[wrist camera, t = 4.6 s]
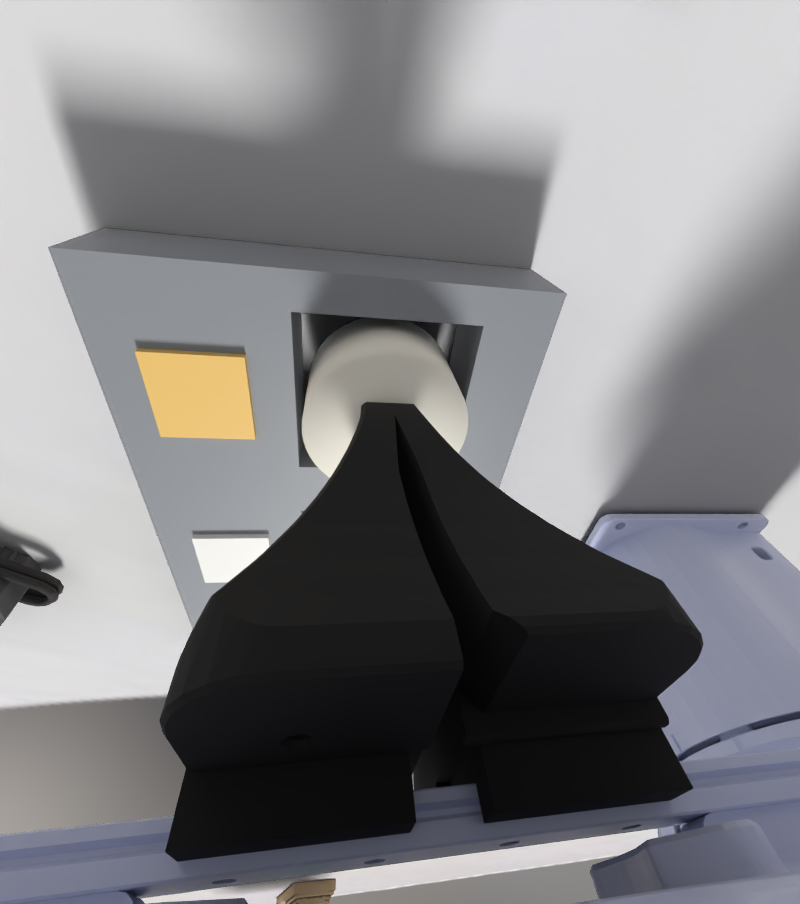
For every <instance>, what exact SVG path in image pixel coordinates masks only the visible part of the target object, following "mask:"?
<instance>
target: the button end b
mask: <svg viewBox="0 0 800 904" xmlns="http://www.w3.org/2000/svg"><path fill="white" fill-rule="evenodd" d="M365 402H380V403H404V404H414V405H415V406H416V407H417V408H418V409H419V411H420V412H421V413H422V414H423V415H424V416H425V418H426V419H427V420H428V421H429V422H430V423H431V425H432V426H433V427H434V428H435V429H436V430H437V431H438V433H439V434H440V435H441V436H442V437H443V438H444V439H445V440H446V441H447V442H448V443H449V444H450V445H451V446H452V448H453V449H454V450H455V451H456V452H457V453H459V452H460V450H461V448H462V446H463V444H464V441H465V438H466V435H467V429H468V411H467V406H466V403H465V399H464V397H463V395H462V393H461V391H460V388H459V386H458V384H457V382H456V380H455V378H454V375H453V373H452V371H451V369H450V367H449V365H448V362H447V360H446V358H445V356H444V354H443V352H442V350H441V348H440V347H439V345H438V344H437V342H436V341H435V340H434V339H433V338H432V337H431V335H430V334H428V333H427V332H426V331H425V330H423V329H422V328H420V327H419V326H417V325H415V324H413V323H411V322H409V321H406V320H395V319H381V318H368V317H366V318H362V319H358V320H355V321H352V322H350V323H347V324H346V325H344V326H342V327H340V328H339V329H337V330H336V331H335V332H333V333H332V334H331V335H330V336H329V337H328V338H327V339H326V340H325V341H324V342H323V343H322V345H321V346H320V347H319V349H318V351H317V352H316V354H315V356H314V359H313V361H312V364H311V368H310V373H309V380H308V386H307V392H306V398H305V405H304V411H303V417H302V436H303V441H304V445H305V448H306V450H307V452H308V454H309V456H310V458H311V459H312V461H313V462H314V464H315V465H316V466H317V467H318V468H319V469H320V470H321V471H322V472H323V473H324V474H325V475H327V476H328V477H329V478H330V477H331V476H332V474H333V472H334V471H335V469H336V468H337V466H338V464H339V463H340V461H341V459H342V457H343V456H344V454H345V452H346V450H347V448H348V446H349V444H350V442H351V440H352V437H353V435H354V433H355V431H356V428H357V425H358V422H359V419H360V415H361V405H363V404H364V403H365Z"/></svg>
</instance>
